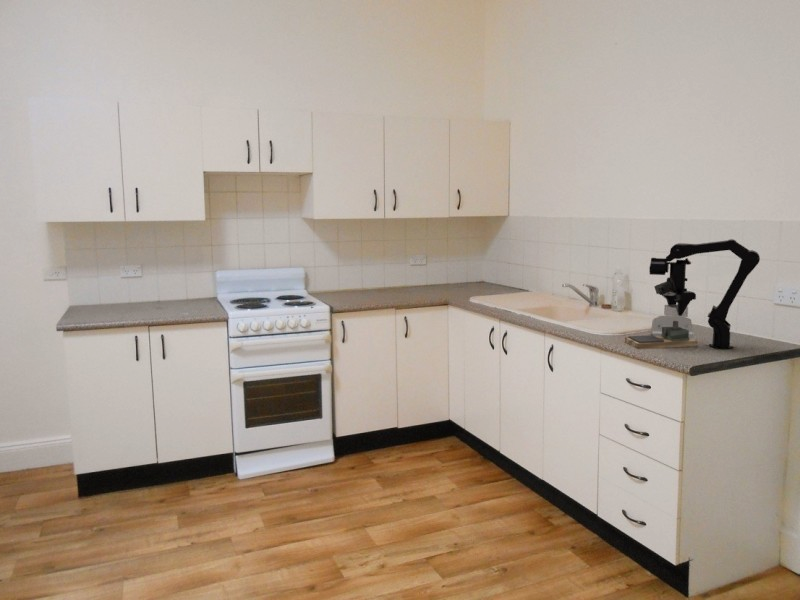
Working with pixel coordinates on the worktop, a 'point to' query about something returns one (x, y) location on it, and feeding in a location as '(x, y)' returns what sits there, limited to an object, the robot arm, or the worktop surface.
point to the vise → (667, 338)
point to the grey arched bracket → (670, 324)
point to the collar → (674, 311)
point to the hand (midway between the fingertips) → (675, 314)
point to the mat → (646, 339)
